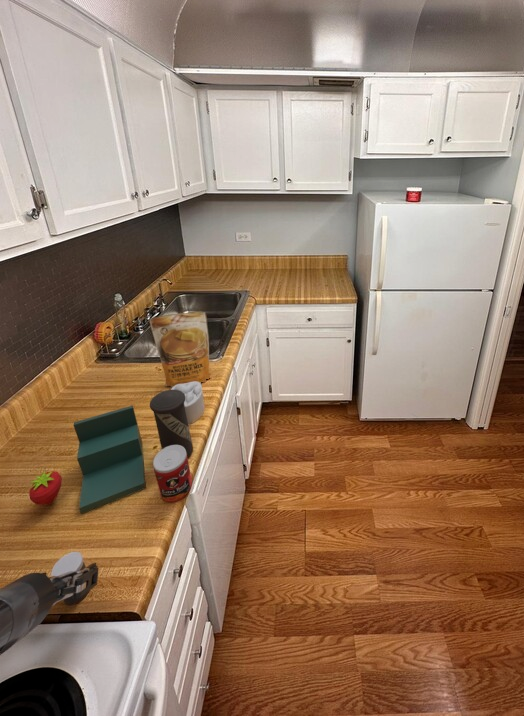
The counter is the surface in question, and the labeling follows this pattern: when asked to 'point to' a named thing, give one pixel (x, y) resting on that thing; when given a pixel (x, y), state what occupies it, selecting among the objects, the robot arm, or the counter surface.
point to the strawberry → (45, 488)
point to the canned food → (172, 473)
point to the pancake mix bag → (182, 346)
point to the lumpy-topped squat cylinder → (192, 400)
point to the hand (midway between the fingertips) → (68, 574)
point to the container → (172, 419)
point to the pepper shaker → (68, 564)
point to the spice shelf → (109, 457)
